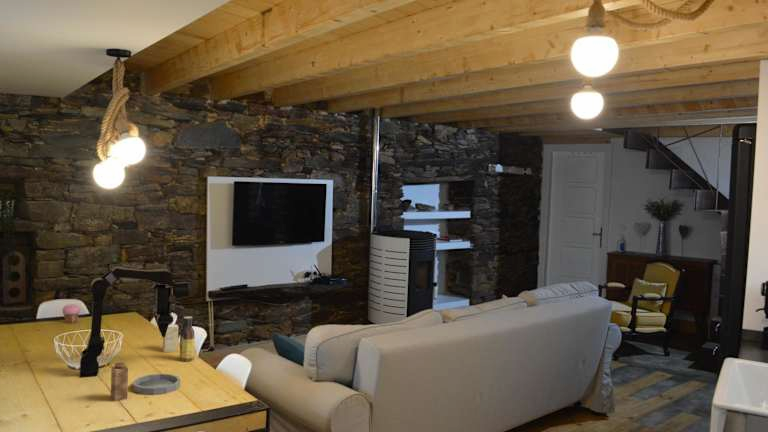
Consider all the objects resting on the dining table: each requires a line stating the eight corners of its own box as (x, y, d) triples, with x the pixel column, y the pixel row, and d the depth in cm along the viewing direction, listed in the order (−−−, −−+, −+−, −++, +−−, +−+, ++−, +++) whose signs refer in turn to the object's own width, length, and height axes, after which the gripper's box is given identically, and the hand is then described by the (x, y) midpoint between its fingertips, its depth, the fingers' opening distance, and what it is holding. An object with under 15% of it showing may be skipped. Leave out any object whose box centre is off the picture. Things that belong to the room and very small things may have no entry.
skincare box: (164, 352, 279) (164, 327, 278) (162, 350, 283) (163, 325, 282) (178, 351, 282) (178, 326, 281) (176, 348, 286) (176, 324, 285)
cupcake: (74, 324, 322) (74, 306, 321) (58, 323, 322) (59, 305, 321) (83, 320, 331) (83, 303, 330) (67, 320, 331) (68, 302, 330)
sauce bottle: (181, 357, 273) (182, 315, 271) (195, 358, 273) (196, 315, 272) (177, 362, 266) (179, 318, 265) (192, 362, 267) (193, 318, 265)
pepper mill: (115, 401, 217) (115, 366, 217) (110, 397, 220) (111, 363, 220) (127, 398, 220) (128, 364, 220) (122, 395, 223) (123, 361, 223)
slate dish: (135, 396, 222) (135, 390, 222) (131, 382, 238) (132, 376, 237) (182, 391, 230) (182, 385, 230) (176, 377, 245) (176, 372, 245)
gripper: (186, 302, 251) (185, 338, 252) (179, 293, 267) (178, 328, 268) (158, 303, 246) (157, 340, 247) (153, 294, 262) (152, 329, 263)
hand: (162, 334), depth 256 cm, fingers open, 9 cm apart
